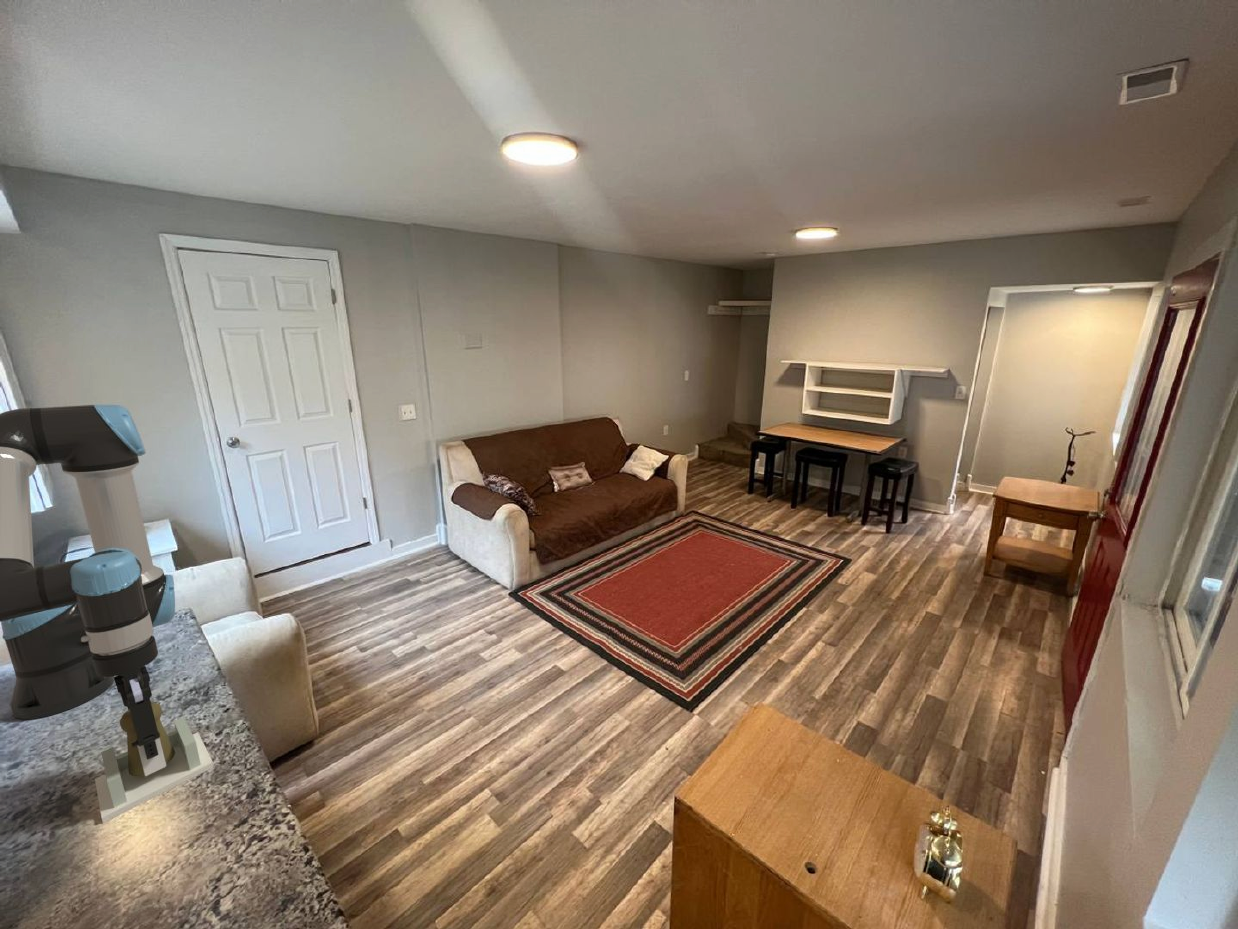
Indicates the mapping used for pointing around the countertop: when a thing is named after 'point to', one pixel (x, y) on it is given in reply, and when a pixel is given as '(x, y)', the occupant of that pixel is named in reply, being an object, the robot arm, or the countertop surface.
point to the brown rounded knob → (133, 752)
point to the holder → (131, 791)
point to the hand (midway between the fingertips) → (152, 760)
